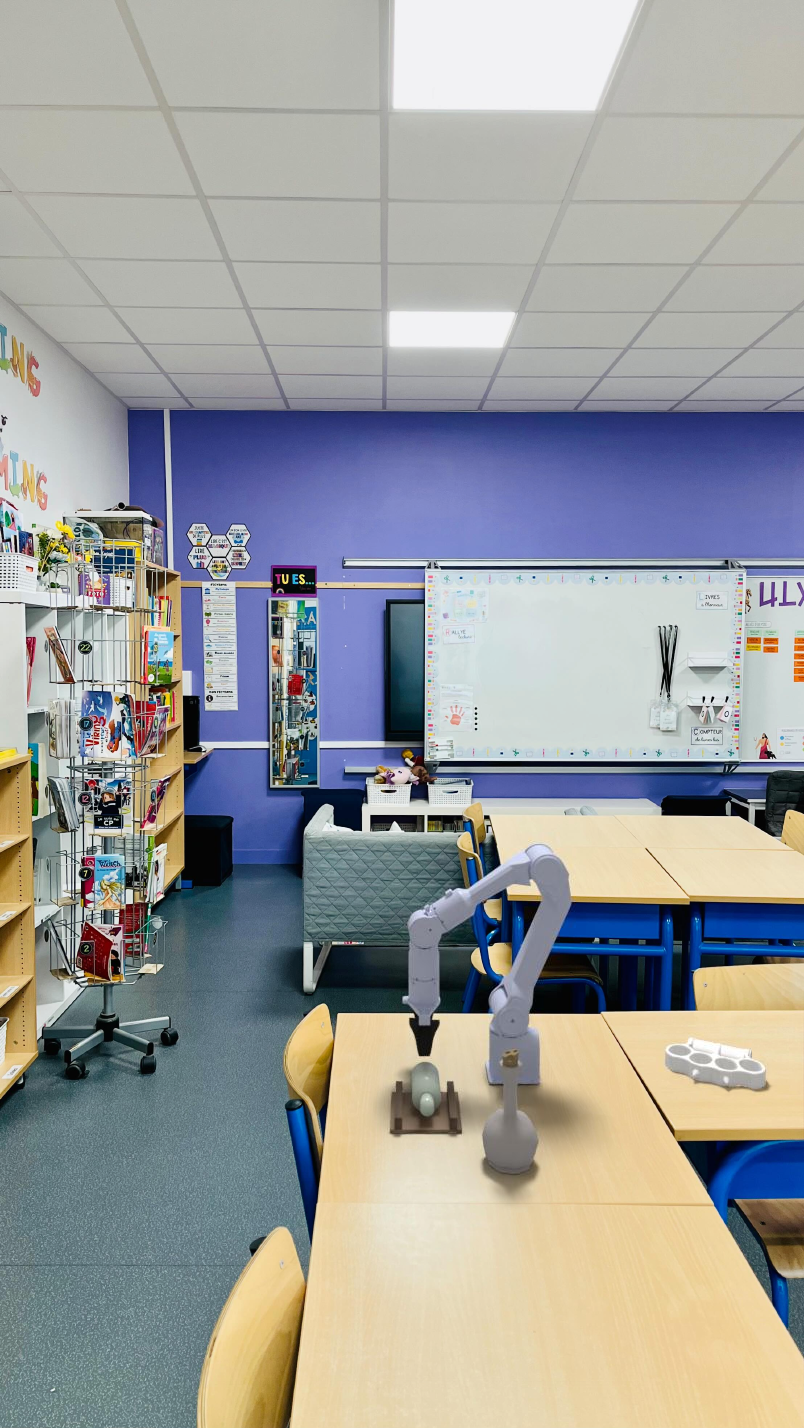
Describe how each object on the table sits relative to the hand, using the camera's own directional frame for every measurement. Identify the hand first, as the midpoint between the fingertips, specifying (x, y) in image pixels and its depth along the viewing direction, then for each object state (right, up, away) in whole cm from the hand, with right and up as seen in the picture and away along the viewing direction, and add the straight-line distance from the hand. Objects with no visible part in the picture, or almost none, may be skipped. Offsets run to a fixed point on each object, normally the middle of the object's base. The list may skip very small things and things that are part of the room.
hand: (423, 1046), depth 157 cm
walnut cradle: (0, -7, -12) cm, 14 cm away
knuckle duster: (+56, -6, +3) cm, 56 cm away
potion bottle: (+13, -8, -26) cm, 30 cm away
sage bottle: (0, -3, -5) cm, 6 cm away
